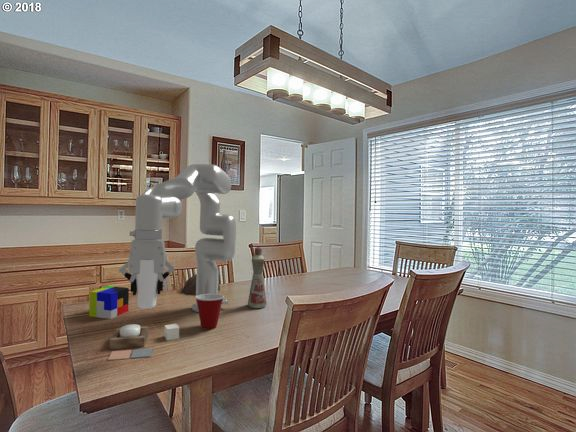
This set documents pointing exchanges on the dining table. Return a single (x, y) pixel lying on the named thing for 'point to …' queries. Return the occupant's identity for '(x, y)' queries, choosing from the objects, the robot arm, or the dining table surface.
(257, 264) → the bottle
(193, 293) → the decorative dome
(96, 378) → the dining table surface
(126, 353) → the pad
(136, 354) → the pad mid
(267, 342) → the dining table surface
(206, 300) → the plastic cup
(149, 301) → the drinking glass
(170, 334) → the white cube
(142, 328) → the button frame
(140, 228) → the robot arm
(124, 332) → the dome button
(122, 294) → the puzzle toy
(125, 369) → the dining table surface
